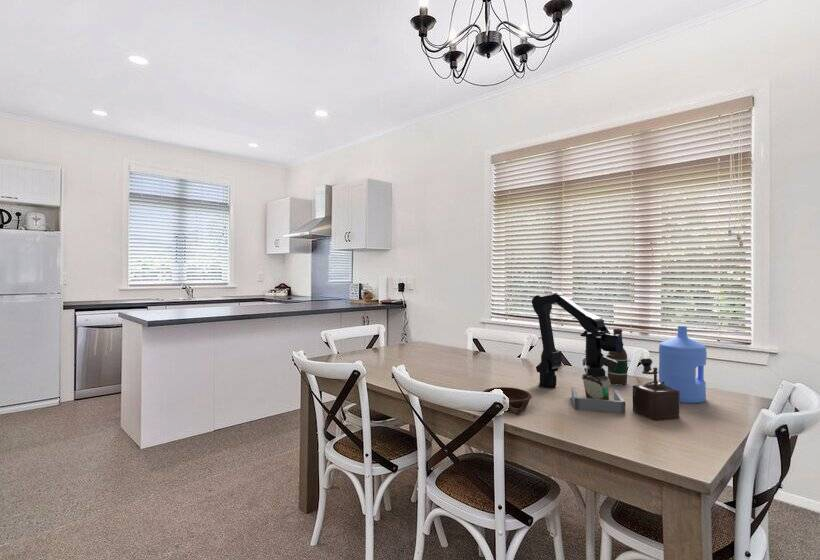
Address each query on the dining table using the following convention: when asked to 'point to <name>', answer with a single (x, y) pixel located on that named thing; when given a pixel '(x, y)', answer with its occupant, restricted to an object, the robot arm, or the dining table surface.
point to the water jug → (683, 366)
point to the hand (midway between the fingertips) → (592, 388)
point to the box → (599, 403)
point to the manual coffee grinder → (655, 397)
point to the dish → (515, 398)
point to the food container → (596, 386)
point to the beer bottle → (618, 365)
